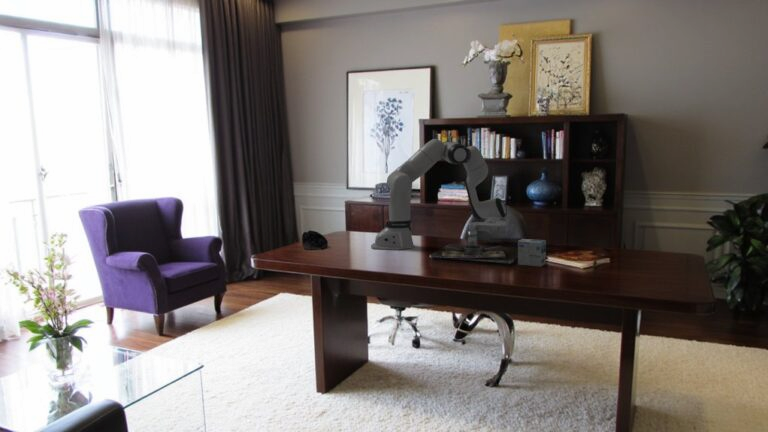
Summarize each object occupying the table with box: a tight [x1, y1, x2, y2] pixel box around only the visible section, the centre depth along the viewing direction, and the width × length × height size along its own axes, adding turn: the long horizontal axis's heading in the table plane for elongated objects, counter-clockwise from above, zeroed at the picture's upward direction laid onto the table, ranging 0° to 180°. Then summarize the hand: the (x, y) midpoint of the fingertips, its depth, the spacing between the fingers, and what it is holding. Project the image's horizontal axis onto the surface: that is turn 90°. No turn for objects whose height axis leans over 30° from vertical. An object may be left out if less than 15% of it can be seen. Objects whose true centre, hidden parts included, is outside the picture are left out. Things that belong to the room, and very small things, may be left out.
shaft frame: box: [441, 244, 506, 257], centre depth 263 cm, size 29×10×5 cm, turn 82°
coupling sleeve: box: [467, 230, 478, 245], centre depth 276 cm, size 5×5×10 cm
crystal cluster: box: [301, 230, 329, 251], centre depth 295 cm, size 13×14×10 cm
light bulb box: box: [517, 238, 547, 268], centre depth 244 cm, size 11×7×11 cm, turn 58°
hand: (482, 229), depth 285 cm, fingers open, 8 cm apart
